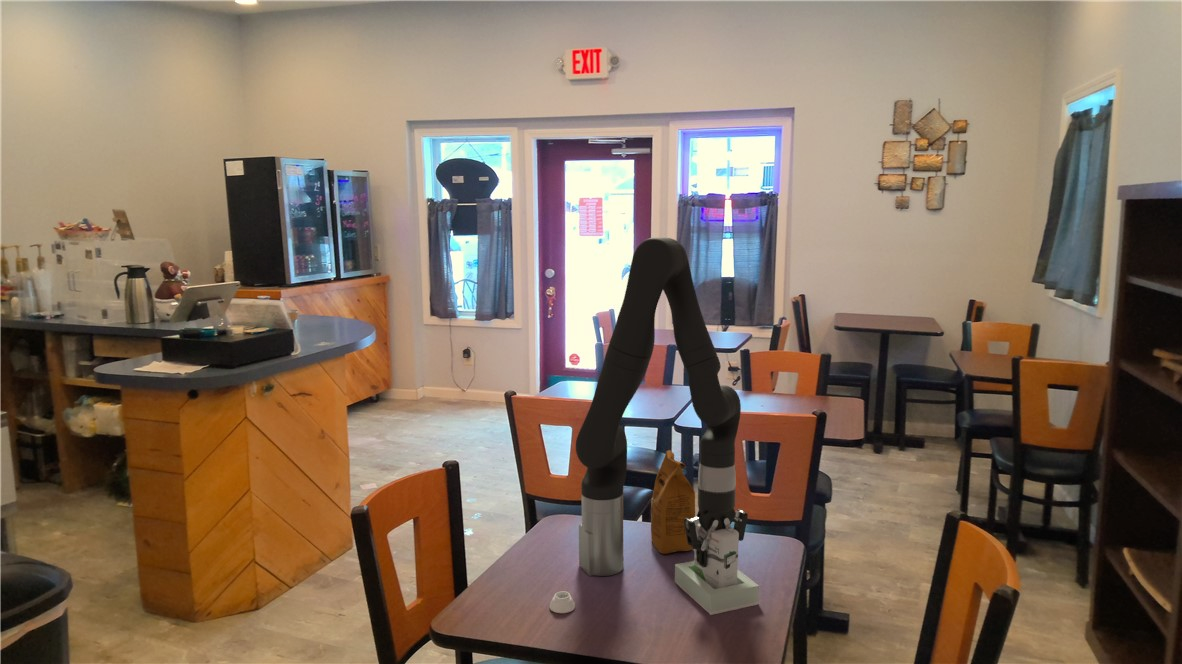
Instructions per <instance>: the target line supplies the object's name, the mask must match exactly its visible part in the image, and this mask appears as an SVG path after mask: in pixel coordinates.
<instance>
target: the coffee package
mask: <svg viewBox="0 0 1182 664" xmlns="http://www.w3.org/2000/svg"><path fill="white" fill-rule="evenodd" d="M686 468H687V466H686V464H685V463H683V462H681V461H677V460H675V453H674V452H673V451H672V450H670V449H669V450H666V452H665V455H664V458H663V460H662V462H661V465H660V468H659V470H658V472H657V475H656V478H655V481H654V488H653V491H652V492H653V493H652V499H651V505H650V506H651V508H650V519H651V522H650V523H651V524H650V533H651V535H650V538H651V540H652V544H653V546H654V548H655V549H656V550H658V552H659V553H660V554H662V555H668V554H673V553H676V552H688V551H691V550H695V549H694V548H693V547H691V546H690V545H689V544H688V542H687V536H686V530H685V524H684V519H685V518H689V519H692V518H694V517H696V491H695V490H694V488H693V486H692V485H691V483H690V482H689V480H688V478H687V476H685V473H684V471H683V470H684V469H686Z"/></svg>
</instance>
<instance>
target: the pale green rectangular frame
mask: <svg viewBox="0 0 1182 664" xmlns="http://www.w3.org/2000/svg"><path fill="white" fill-rule="evenodd" d="M674 583H675V584H676V585H677V586H678V587H680V588H681V590H683V591H684V592H685V593H686V594H687V595H689V597H691V599H692V600H694V601H695V602H696V603H697V604H698V605H699V606H700V607H701V608H702V609H704V611H706V612H707V613H708V614H709V616H712V615H718V614H721V613H725V612H730V611H734V610H739V609H744V608H748V607H754V606H757V605H759V600H760V599H759V598H760V585H759V584H757V583H756V582H755V581H754V580H752V579H751V578H749V576H747V575H745V573H743V572H742V571H740V570H739V569H738V571H737V585H733V586H728V587H724V588H719V589H714V588H713V587H711V586H710V585H709V584H708V583H707V582H705V581H704V580H703V579H702V578H701V577H699V576H698V575H697V574H696V573H695V572H694V560H690V561H686V562H681V563H675V564H674Z"/></svg>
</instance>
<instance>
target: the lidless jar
mask: <svg viewBox="0 0 1182 664" xmlns="http://www.w3.org/2000/svg"><path fill="white" fill-rule="evenodd" d="M575 607H576V603H575V601H574V600H573V597H572V596H571V594H570V593H569V591H564V590H563V591H557V592H556V593H554V595H553V597H552V599H551V601H550V603H549V609H550V611H551V612H554V613H557V614H567V613H570V612H572V611H574V610H575V609H576V608H575Z"/></svg>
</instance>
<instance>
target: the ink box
mask: <svg viewBox="0 0 1182 664" xmlns="http://www.w3.org/2000/svg"><path fill="white" fill-rule="evenodd" d="M697 527H698V528H697V529H696V533H697V537H698V531H699V528H700V523H698V525H697ZM702 532H703V533H704V534H707V532H706V531H705V530H704V529H703V528H702ZM739 541H740V540H739V532H738V531H737V530H734V529H733V528H732V529H720V530H716V531H714V532H713V533H712V537H711V540H710V541H709V542H708V545H707V547H706V550H707V567H702V566H700V565H699V563H697V560H696V558H697V557H696V556H697V549H694V557H693V558H694V559H693V561H694V572H695V573H696V574H697V575H698V576H699V577H701V578H702V579H703V580H704V581H705V582H707V583H708V584H709V585H710V586H711V587H713V588H714V589H719V588H724V587H728V586H733V585H737V571H738V570H739V567H738V566H739V563H738V562H739V561H738V560H739Z"/></svg>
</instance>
